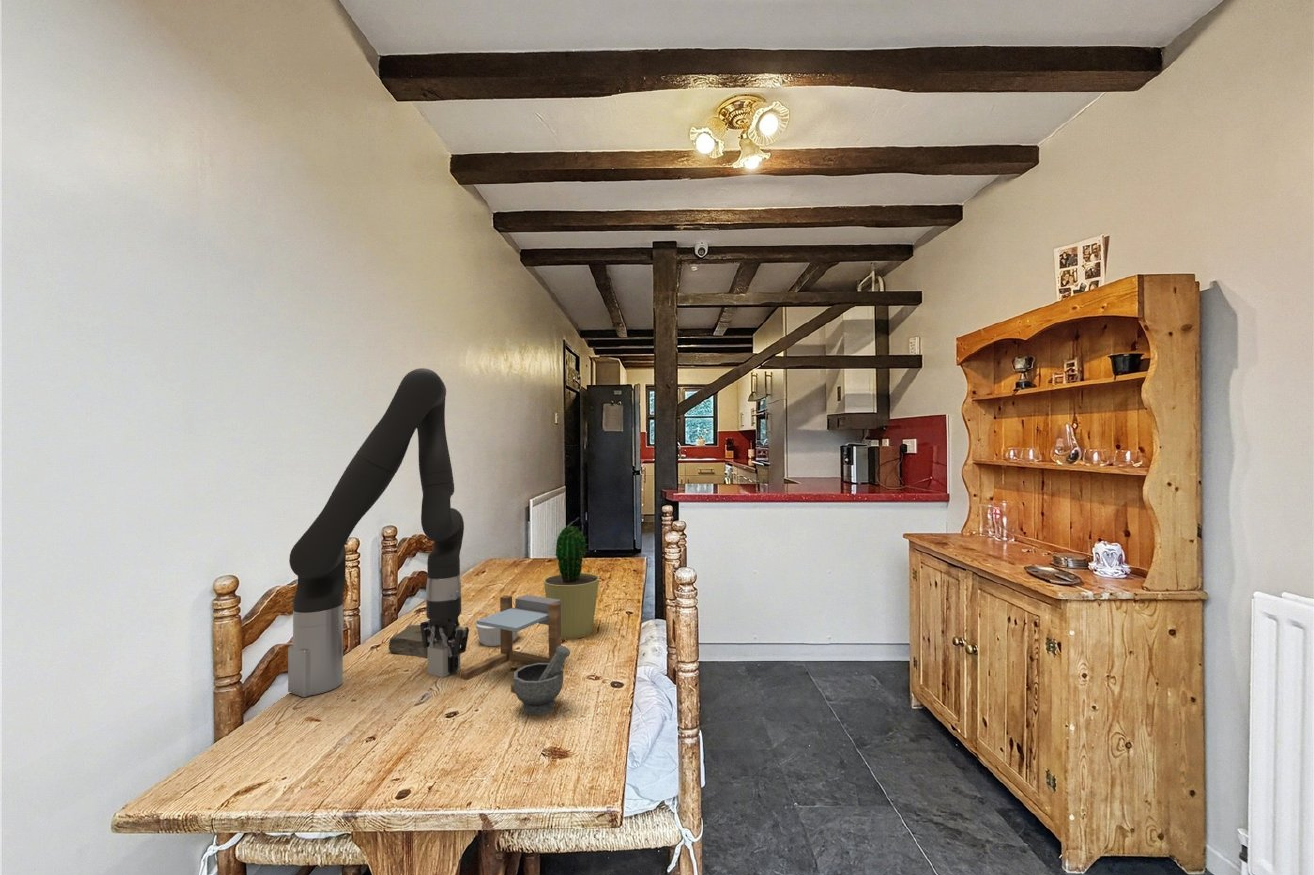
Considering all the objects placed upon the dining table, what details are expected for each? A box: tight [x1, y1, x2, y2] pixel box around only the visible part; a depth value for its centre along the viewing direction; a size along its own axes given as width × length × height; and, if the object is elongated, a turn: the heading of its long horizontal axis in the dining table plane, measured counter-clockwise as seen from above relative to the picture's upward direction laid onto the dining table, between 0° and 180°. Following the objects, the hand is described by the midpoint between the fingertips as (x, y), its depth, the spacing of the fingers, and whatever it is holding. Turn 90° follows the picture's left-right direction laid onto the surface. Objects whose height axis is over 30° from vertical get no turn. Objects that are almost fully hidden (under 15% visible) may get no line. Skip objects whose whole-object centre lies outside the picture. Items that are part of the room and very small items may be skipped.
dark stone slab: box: [388, 624, 453, 659], centre depth 140 cm, size 17×15×4 cm
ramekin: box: [475, 623, 519, 647], centre depth 144 cm, size 11×11×5 cm
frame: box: [460, 594, 565, 693], centre depth 122 cm, size 15×17×15 cm
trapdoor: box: [476, 594, 562, 633], centre depth 125 cm, size 16×12×5 cm
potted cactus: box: [543, 525, 600, 640], centre depth 150 cm, size 15×15×30 cm
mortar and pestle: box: [513, 644, 571, 716], centre depth 105 cm, size 11×9×12 cm
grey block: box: [427, 641, 462, 678], centre depth 124 cm, size 5×5×6 cm
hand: (444, 669), depth 124 cm, fingers closed on grey block, 5 cm apart
